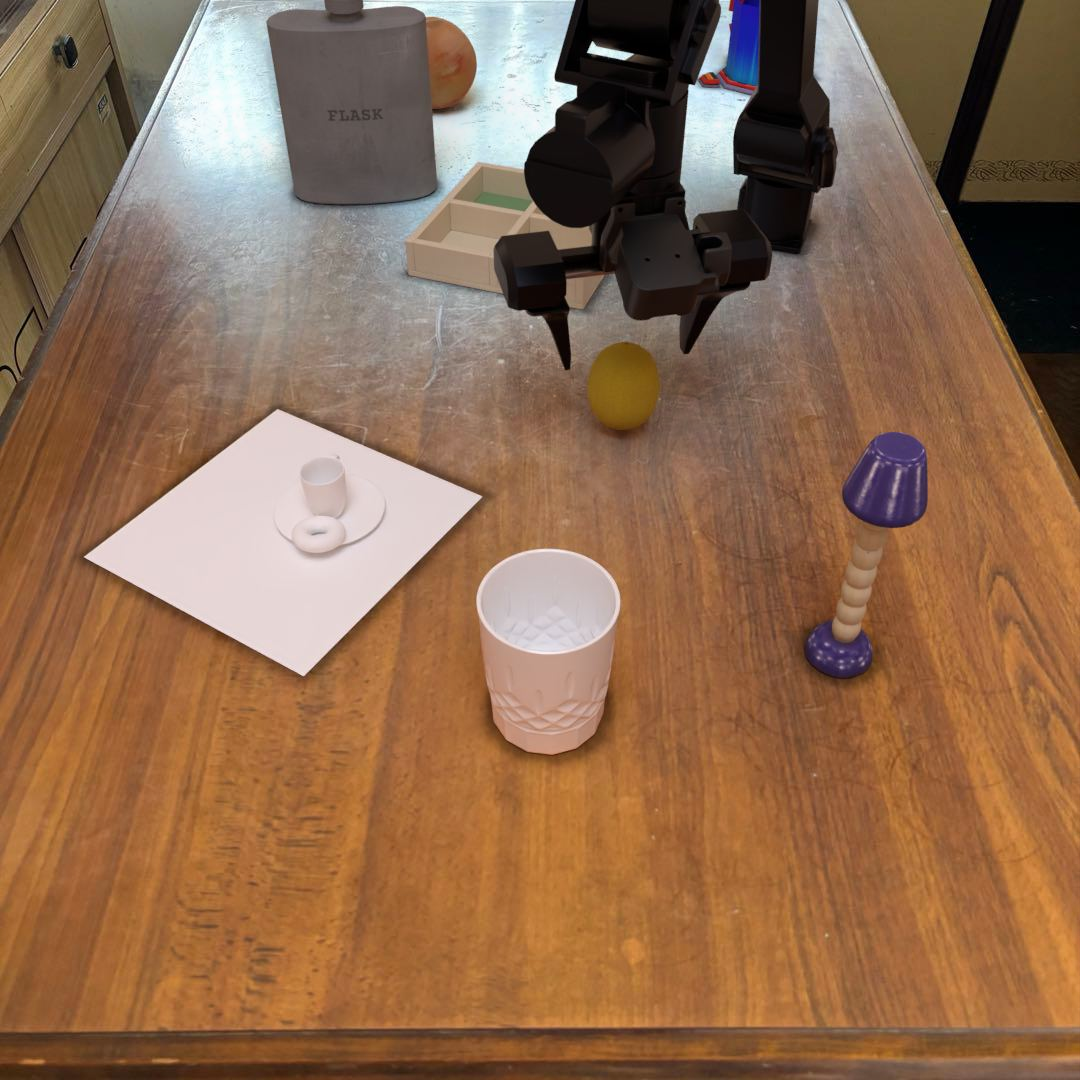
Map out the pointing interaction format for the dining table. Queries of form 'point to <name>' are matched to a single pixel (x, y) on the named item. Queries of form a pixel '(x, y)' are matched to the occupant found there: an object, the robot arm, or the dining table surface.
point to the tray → (487, 232)
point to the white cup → (548, 646)
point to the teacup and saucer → (286, 537)
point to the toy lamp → (870, 544)
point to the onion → (449, 62)
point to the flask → (355, 102)
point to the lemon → (623, 385)
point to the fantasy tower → (739, 50)
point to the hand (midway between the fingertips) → (625, 359)
